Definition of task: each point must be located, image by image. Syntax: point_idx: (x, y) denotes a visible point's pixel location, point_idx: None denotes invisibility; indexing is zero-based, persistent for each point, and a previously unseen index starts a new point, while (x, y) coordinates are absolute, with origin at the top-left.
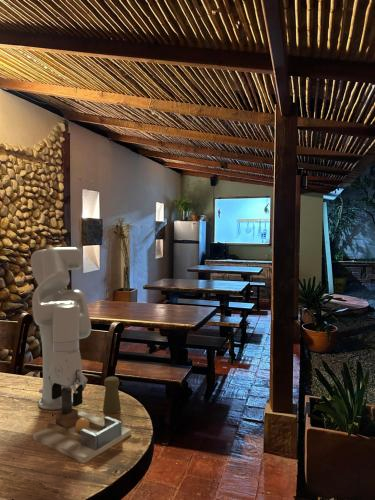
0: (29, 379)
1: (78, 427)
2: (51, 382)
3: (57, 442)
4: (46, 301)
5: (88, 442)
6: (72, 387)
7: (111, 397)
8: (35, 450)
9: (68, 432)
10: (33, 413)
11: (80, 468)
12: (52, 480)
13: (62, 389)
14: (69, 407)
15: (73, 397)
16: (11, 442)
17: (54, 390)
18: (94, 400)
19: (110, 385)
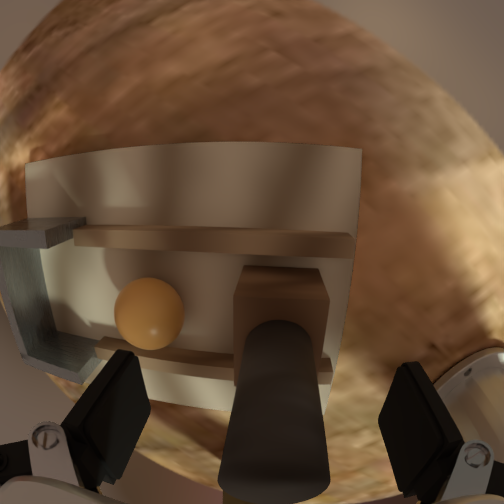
0: None
1: (134, 281)
2: (484, 468)
3: (172, 160)
4: None
5: (38, 221)
6: (66, 479)
7: None
8: (251, 89)
9: (158, 230)
10: (499, 308)
11: (31, 139)
12: (56, 51)
13: (308, 471)
14: (240, 367)
15: (87, 397)
16: (407, 86)
17: (422, 425)
18: (355, 466)
19: None
